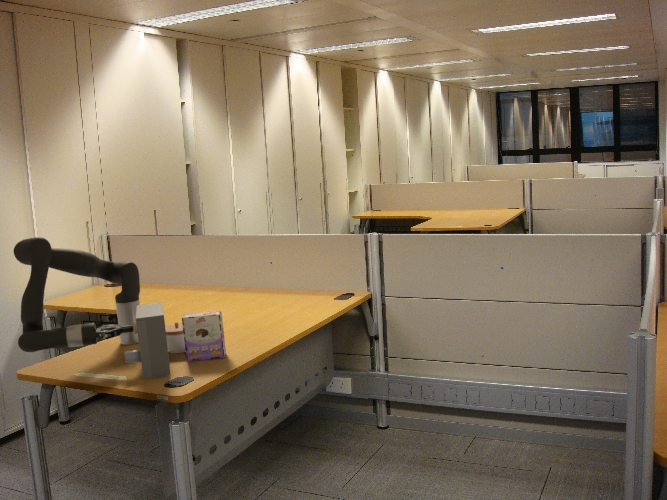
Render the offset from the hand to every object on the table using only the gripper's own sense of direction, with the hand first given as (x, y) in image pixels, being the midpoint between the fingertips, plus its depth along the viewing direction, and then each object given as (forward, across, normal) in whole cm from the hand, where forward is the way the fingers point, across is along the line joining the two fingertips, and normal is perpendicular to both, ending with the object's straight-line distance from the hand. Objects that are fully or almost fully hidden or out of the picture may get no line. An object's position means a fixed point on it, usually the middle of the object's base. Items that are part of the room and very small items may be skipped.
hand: (133, 328), depth 235 cm
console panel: (+6, -6, +14) cm, 17 cm away
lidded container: (+15, +13, +14) cm, 24 cm away
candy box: (+24, -2, +14) cm, 28 cm away
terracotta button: (+3, 0, +2) cm, 4 cm away
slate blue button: (0, -12, +9) cm, 15 cm away
